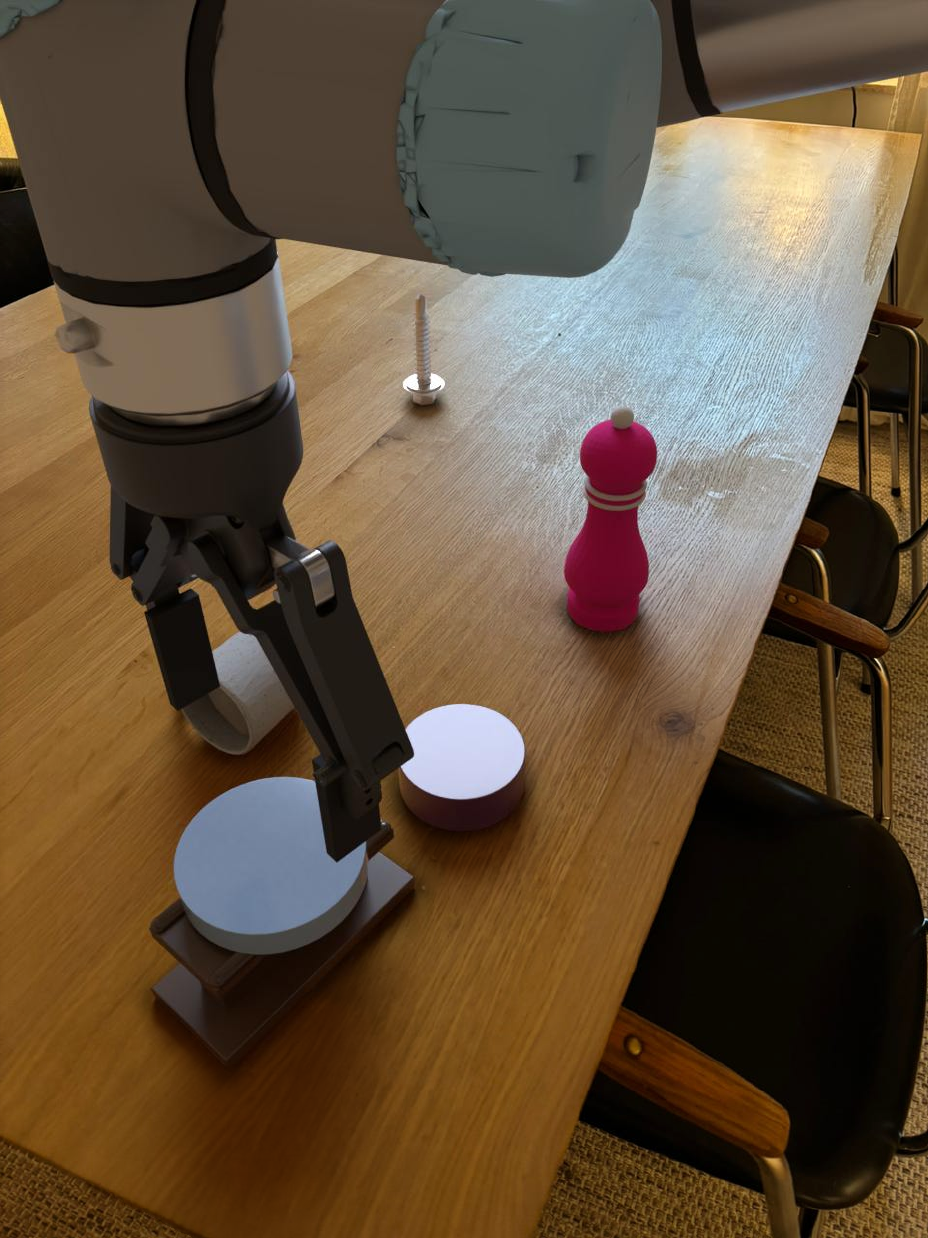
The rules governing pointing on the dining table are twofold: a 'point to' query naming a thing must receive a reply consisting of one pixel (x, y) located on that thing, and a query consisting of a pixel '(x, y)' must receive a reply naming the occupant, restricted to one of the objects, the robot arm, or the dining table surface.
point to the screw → (422, 359)
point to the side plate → (265, 869)
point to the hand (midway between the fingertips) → (269, 763)
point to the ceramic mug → (240, 698)
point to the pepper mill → (611, 525)
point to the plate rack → (263, 965)
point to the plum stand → (463, 767)
